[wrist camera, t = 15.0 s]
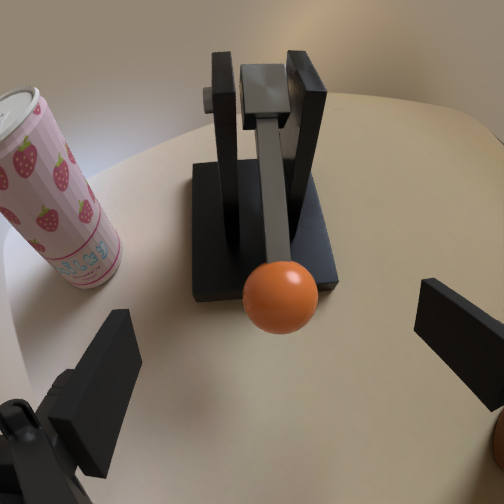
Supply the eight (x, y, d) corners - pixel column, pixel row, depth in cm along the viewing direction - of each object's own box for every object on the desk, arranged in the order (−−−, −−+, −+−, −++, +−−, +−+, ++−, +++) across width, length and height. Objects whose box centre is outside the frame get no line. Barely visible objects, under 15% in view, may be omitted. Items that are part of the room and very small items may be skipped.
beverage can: (75, 303, 22) (-52, 179, 9) (58, 249, 24) (-39, 122, 11) (134, 268, 23) (43, 110, 10) (111, 217, 26) (39, 70, 12)
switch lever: (309, 320, 17) (328, 338, 14) (244, 326, 17) (247, 348, 13) (289, 89, 17) (301, 57, 13) (226, 90, 16) (225, 58, 13)
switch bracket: (334, 290, 23) (412, 151, 11) (195, 302, 22) (140, 161, 10) (304, 167, 29) (329, 29, 16) (194, 174, 28) (171, 33, 16)
